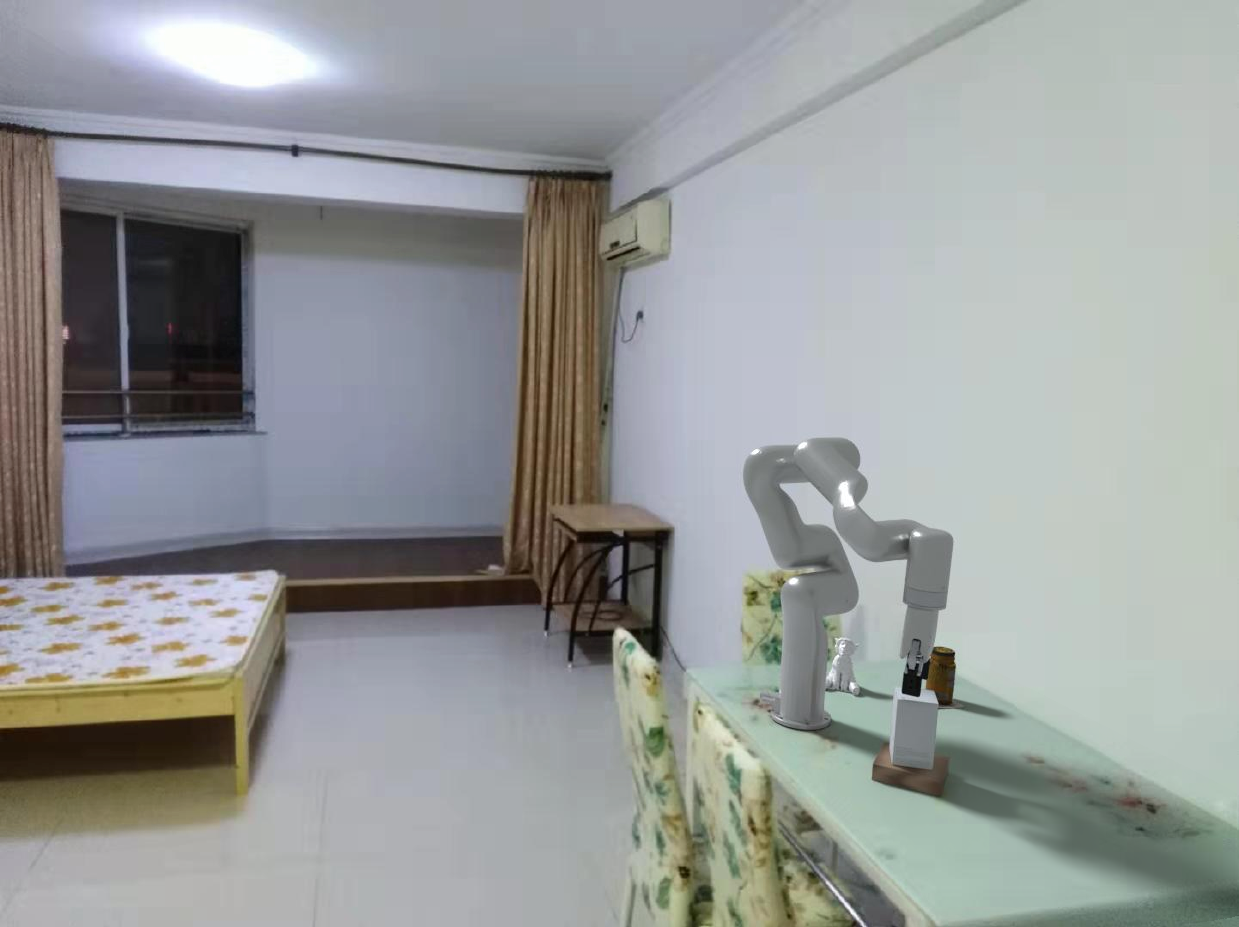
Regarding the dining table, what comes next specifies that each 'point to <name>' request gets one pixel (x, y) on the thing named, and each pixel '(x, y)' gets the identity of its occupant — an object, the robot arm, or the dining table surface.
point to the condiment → (942, 676)
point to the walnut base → (911, 773)
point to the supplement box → (913, 729)
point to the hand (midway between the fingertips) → (914, 686)
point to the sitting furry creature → (843, 668)
